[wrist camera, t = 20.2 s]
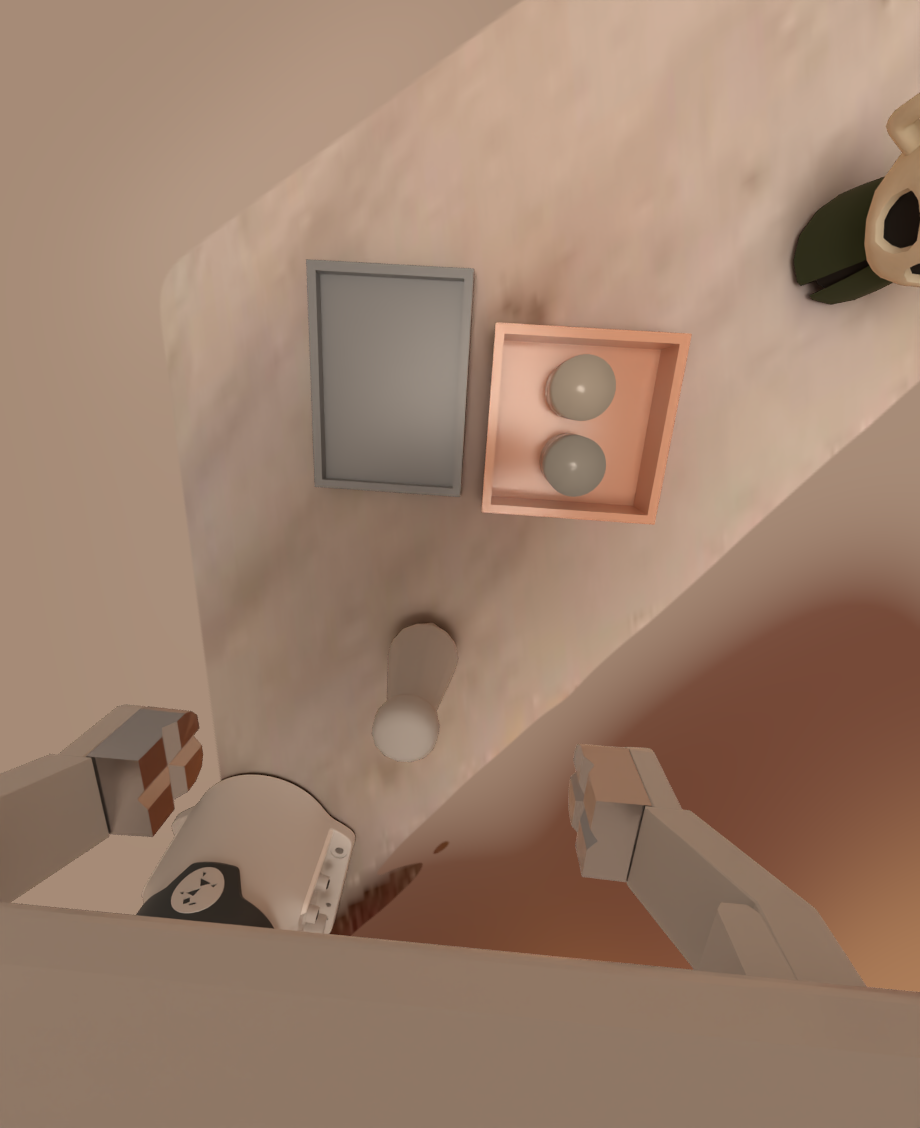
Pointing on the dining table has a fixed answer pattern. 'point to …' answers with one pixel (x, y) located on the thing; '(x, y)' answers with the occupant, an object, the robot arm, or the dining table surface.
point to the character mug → (869, 226)
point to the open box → (623, 430)
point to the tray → (389, 375)
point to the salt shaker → (414, 692)
